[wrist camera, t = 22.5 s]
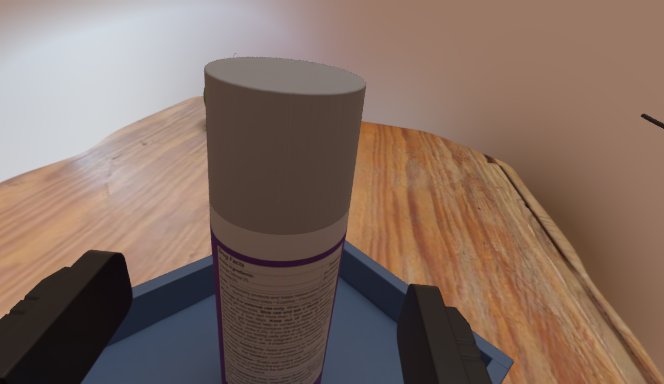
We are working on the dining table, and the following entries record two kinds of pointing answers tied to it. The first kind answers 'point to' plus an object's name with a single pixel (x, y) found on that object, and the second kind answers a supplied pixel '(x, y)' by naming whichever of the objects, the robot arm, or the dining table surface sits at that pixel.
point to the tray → (203, 344)
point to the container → (278, 210)
